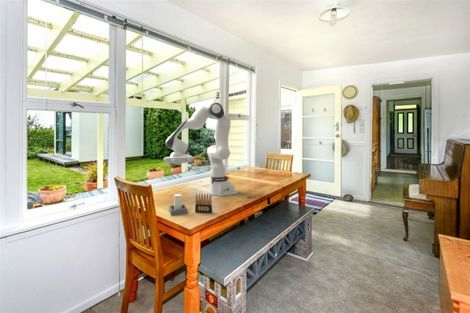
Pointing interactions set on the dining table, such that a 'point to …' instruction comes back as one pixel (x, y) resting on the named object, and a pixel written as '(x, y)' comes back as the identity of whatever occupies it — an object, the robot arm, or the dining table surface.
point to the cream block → (177, 201)
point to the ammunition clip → (203, 204)
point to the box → (178, 210)
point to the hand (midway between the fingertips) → (180, 160)
